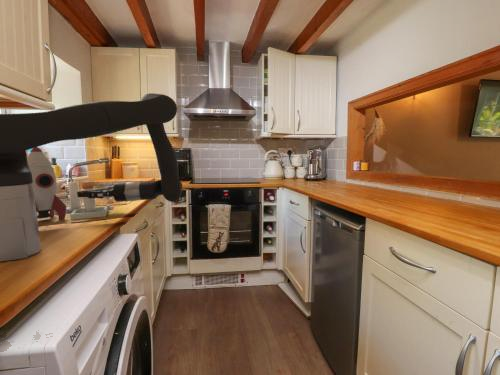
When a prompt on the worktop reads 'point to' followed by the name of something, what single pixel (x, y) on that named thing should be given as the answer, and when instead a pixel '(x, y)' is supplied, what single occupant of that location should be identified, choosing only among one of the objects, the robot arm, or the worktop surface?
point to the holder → (68, 210)
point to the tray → (88, 214)
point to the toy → (44, 185)
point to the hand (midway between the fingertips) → (80, 193)
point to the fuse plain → (74, 196)
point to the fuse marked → (88, 202)
